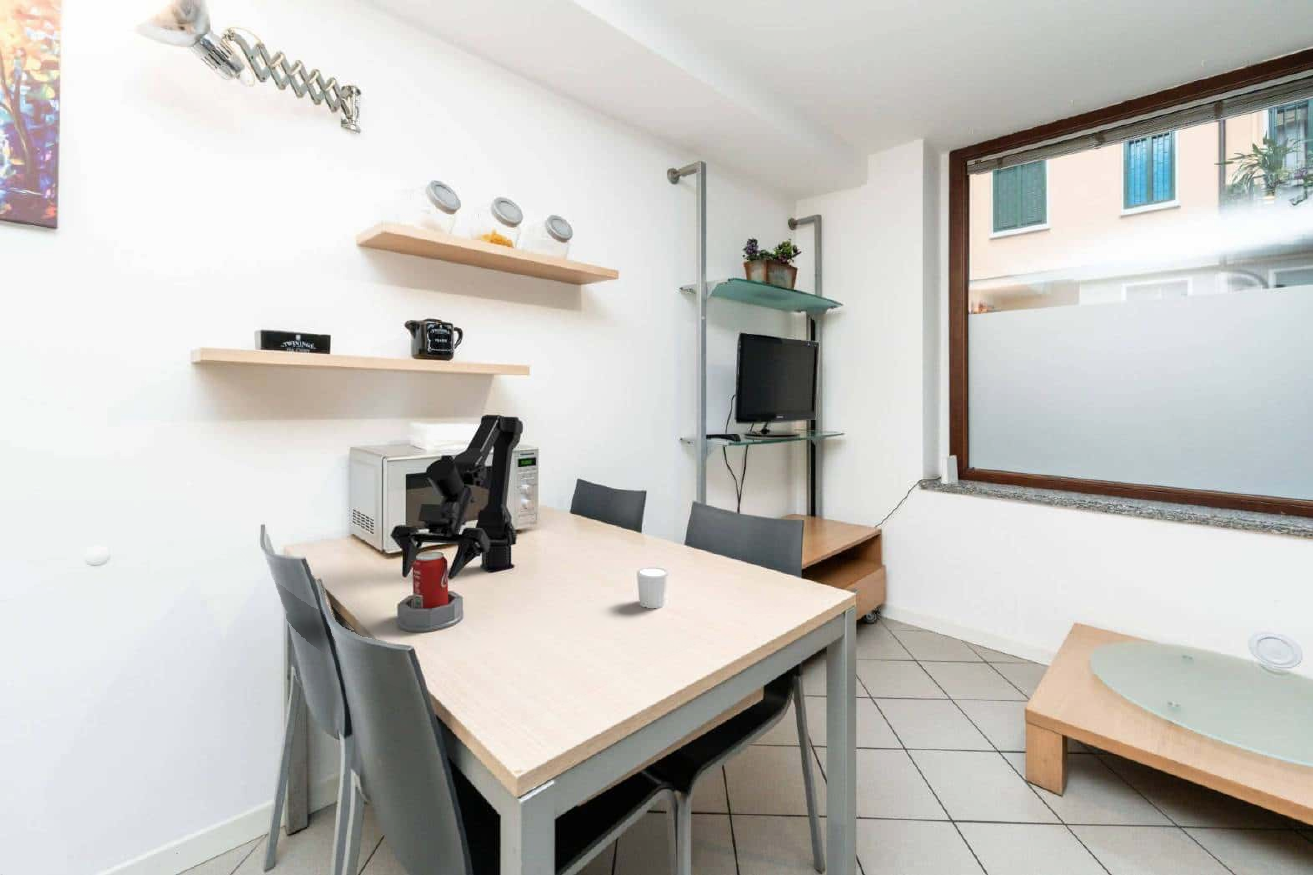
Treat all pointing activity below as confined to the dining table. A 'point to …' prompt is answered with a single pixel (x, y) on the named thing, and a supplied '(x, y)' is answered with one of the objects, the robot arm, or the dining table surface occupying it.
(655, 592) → the white cup
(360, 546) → the dining table surface
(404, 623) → the cup holder
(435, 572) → the beverage can
